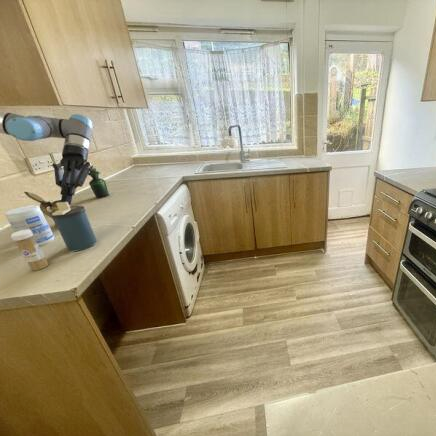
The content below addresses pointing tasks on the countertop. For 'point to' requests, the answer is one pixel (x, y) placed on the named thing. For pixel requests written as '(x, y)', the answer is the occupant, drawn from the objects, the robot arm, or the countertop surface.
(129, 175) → the countertop surface
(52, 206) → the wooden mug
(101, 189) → the potion bottle
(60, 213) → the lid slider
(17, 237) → the sprinkles bottle
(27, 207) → the supplement tub
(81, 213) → the tumbler
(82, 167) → the robot arm
